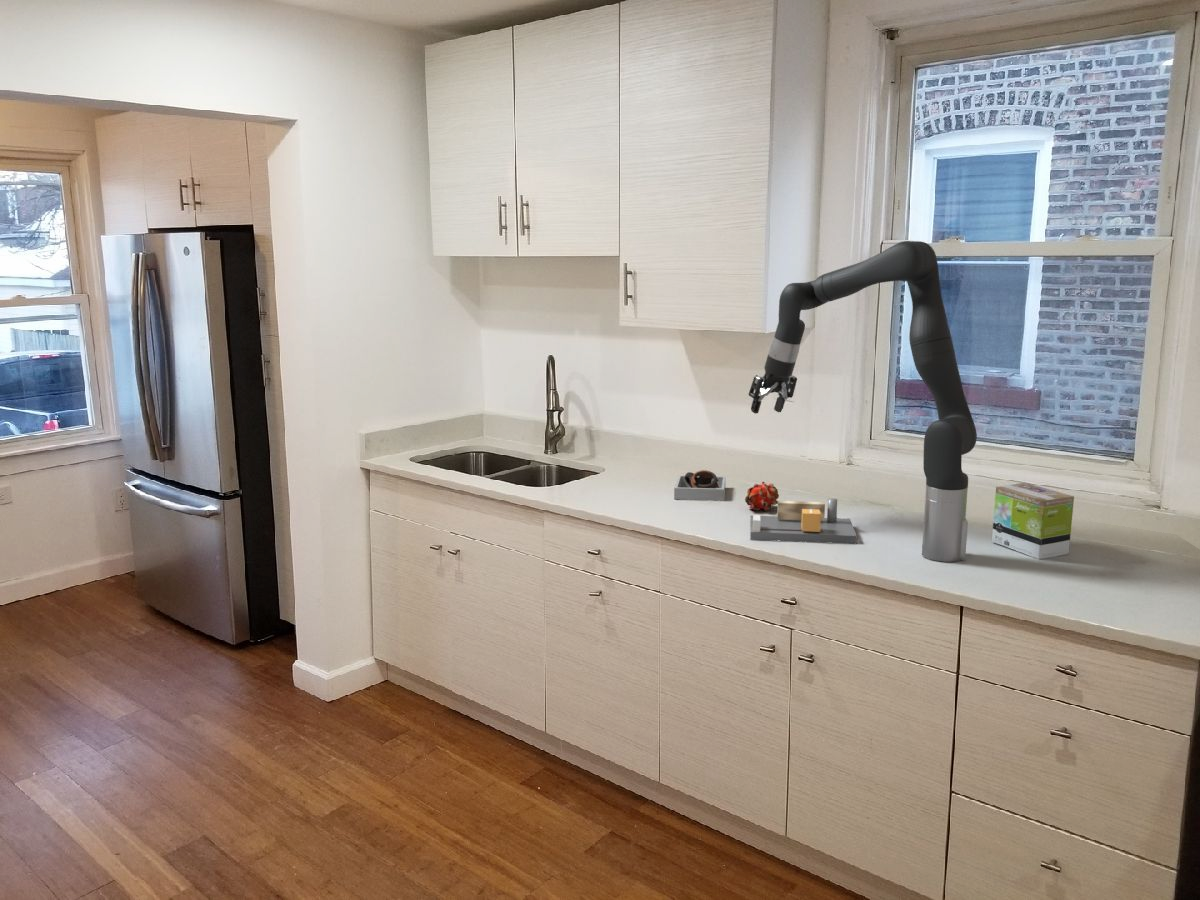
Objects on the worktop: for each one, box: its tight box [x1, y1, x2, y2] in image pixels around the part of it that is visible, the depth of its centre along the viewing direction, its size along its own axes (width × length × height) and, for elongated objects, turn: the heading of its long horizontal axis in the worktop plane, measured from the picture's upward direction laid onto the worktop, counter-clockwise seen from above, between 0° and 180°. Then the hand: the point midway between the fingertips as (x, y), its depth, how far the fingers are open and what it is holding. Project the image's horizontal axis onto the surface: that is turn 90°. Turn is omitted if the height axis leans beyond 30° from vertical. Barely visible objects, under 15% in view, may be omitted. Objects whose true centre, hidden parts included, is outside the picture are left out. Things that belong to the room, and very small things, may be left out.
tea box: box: [991, 482, 1075, 560], centre depth 228 cm, size 15×10×15 cm, turn 23°
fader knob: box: [801, 509, 821, 532], centre depth 239 cm, size 4×4×5 cm
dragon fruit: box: [744, 481, 780, 512], centre depth 267 cm, size 8×8×12 cm
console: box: [749, 497, 858, 544], centre depth 244 cm, size 26×16×8 cm, turn 81°
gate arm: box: [776, 500, 826, 521], centre depth 248 cm, size 12×2×4 cm, turn 81°
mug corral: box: [673, 475, 727, 502], centre depth 287 cm, size 15×17×4 cm
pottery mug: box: [684, 469, 720, 489], centre depth 286 cm, size 12×10×8 cm
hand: (765, 411), depth 257 cm, fingers open, 8 cm apart
